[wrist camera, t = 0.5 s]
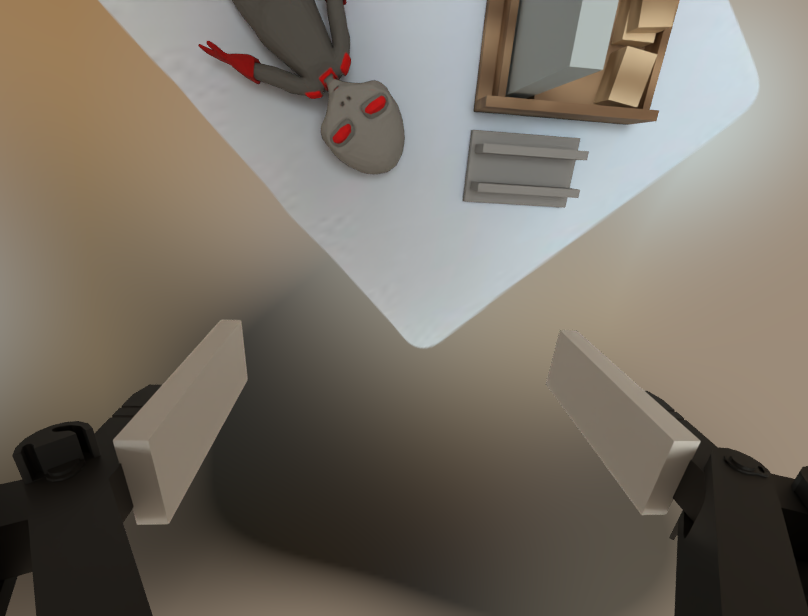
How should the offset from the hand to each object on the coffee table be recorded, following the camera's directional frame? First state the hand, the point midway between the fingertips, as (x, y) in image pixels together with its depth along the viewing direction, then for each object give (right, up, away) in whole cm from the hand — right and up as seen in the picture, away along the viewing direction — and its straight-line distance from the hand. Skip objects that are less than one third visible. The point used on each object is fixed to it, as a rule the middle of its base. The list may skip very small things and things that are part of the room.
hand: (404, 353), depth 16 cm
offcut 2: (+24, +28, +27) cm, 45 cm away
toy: (-11, +30, +25) cm, 40 cm away
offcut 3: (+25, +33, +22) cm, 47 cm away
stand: (+14, +19, +31) cm, 39 cm away
